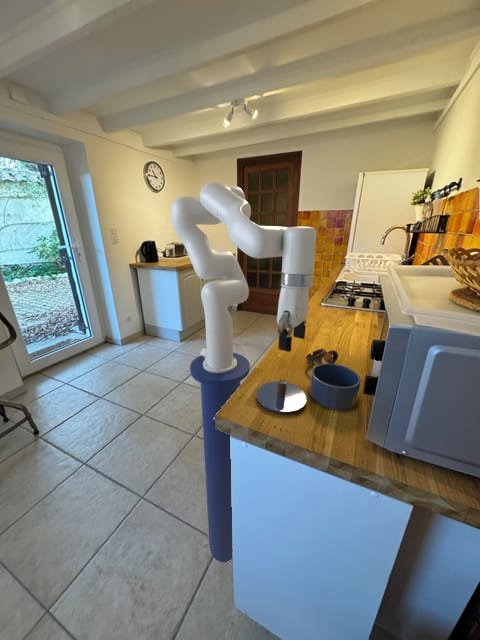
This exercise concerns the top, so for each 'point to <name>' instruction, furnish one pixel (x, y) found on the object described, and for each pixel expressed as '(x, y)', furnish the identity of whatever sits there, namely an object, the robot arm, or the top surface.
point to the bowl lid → (281, 397)
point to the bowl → (334, 386)
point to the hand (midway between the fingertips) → (292, 343)
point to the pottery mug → (322, 353)
